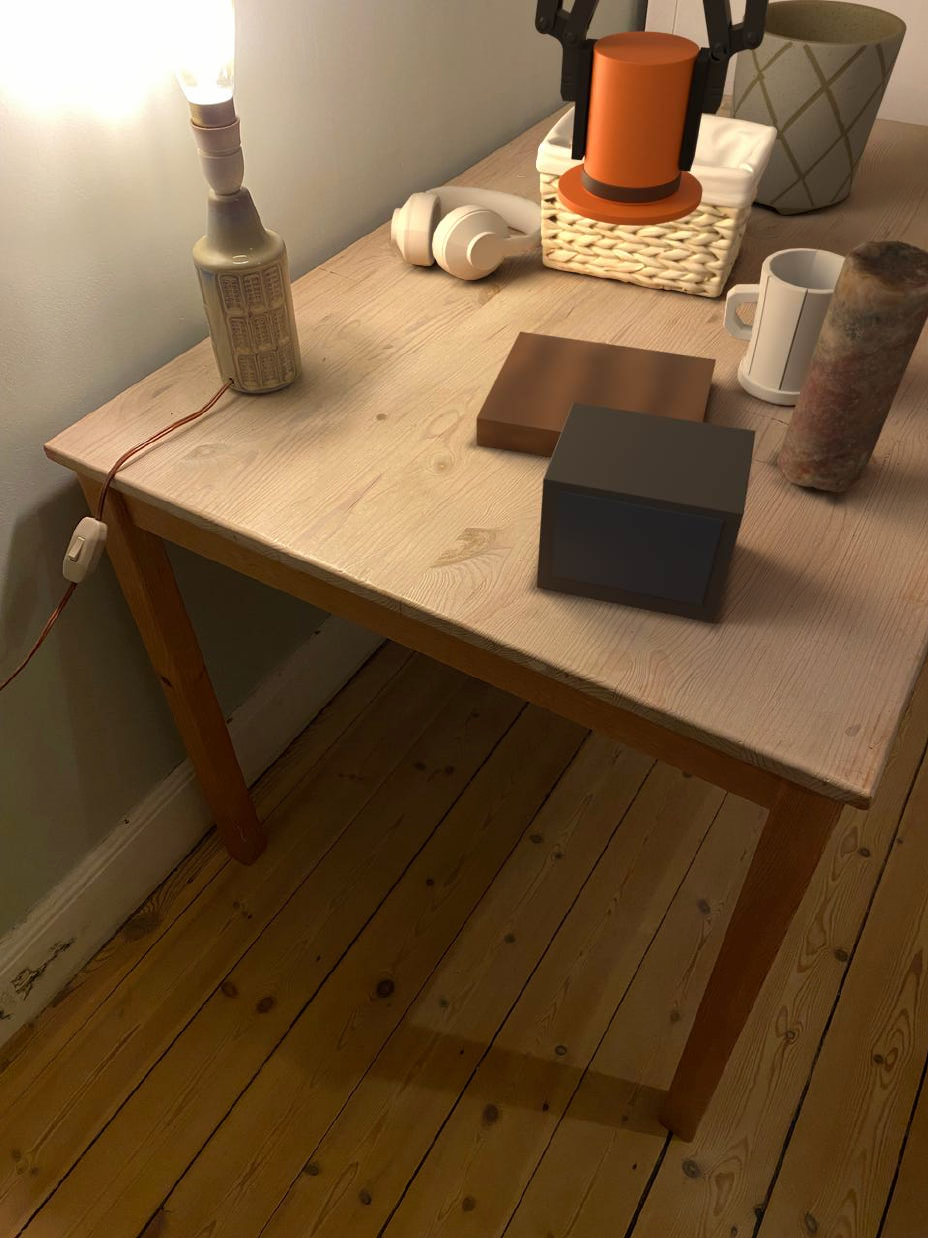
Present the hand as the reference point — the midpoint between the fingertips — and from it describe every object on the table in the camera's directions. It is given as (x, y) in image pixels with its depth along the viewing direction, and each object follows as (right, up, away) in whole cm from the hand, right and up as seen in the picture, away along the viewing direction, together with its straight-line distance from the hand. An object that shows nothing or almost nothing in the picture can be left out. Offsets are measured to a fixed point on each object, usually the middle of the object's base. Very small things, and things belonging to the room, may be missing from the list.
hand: (633, 157), depth 62 cm
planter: (+32, +27, +63) cm, 75 cm away
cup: (+20, -8, +30) cm, 37 cm away
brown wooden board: (+2, -11, +27) cm, 29 cm away
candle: (+20, -19, +20) cm, 34 cm away
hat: (0, -2, +2) cm, 2 cm away
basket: (+10, +12, +49) cm, 51 cm away
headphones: (-11, +14, +51) cm, 54 cm away
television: (+2, -27, +13) cm, 30 cm away
